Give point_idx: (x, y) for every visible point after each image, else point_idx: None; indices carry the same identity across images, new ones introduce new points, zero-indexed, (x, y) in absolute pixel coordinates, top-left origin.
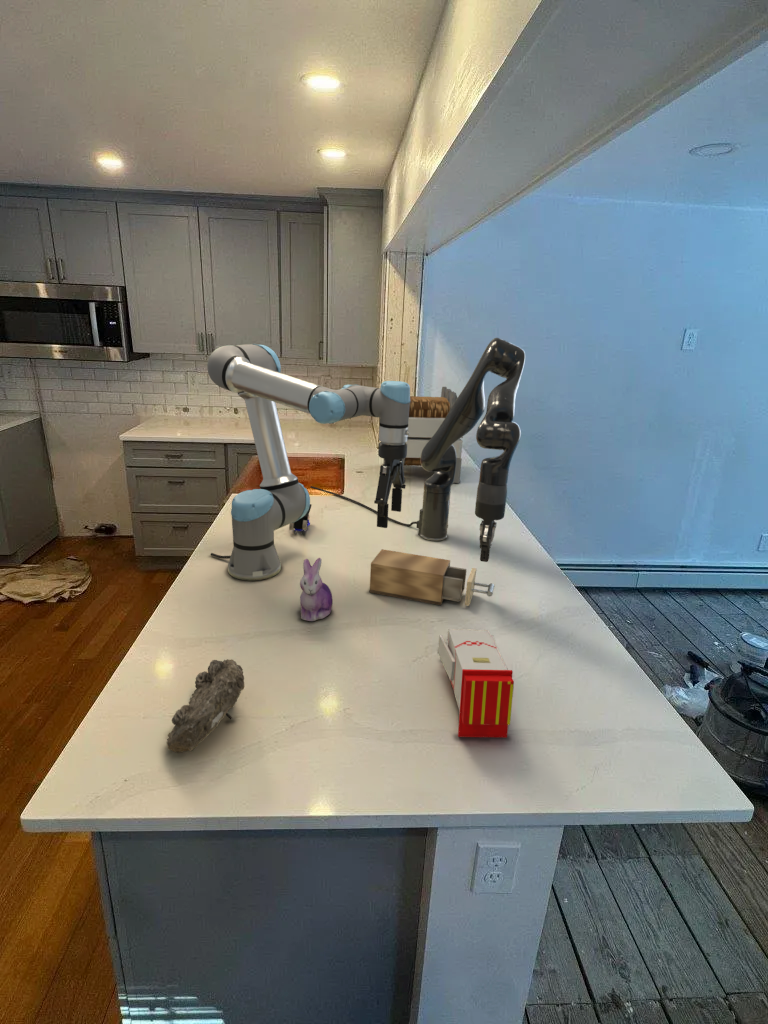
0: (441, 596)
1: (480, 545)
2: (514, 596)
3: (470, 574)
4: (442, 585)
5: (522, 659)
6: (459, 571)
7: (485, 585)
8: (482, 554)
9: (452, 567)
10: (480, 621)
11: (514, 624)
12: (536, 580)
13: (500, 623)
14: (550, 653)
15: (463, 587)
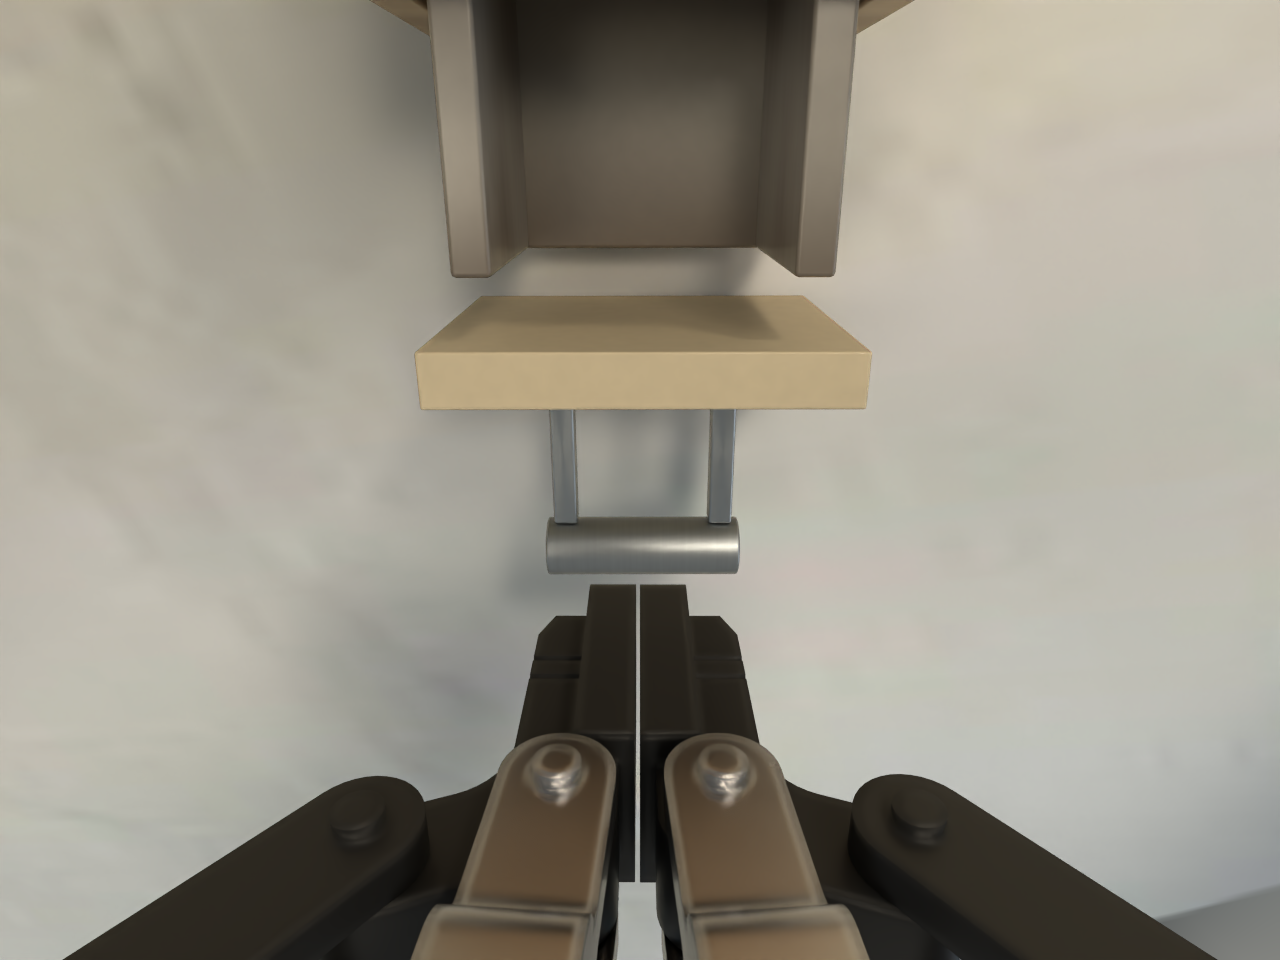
0: (420, 30)
1: (184, 898)
2: (859, 647)
3: (646, 362)
4: (378, 4)
5: (16, 745)
6: (793, 178)
7: (708, 492)
8: (530, 697)
9: (823, 53)
10: (338, 452)
11: (419, 676)
12: (1185, 770)
13: (385, 591)
14: (183, 868)
15: (757, 239)
